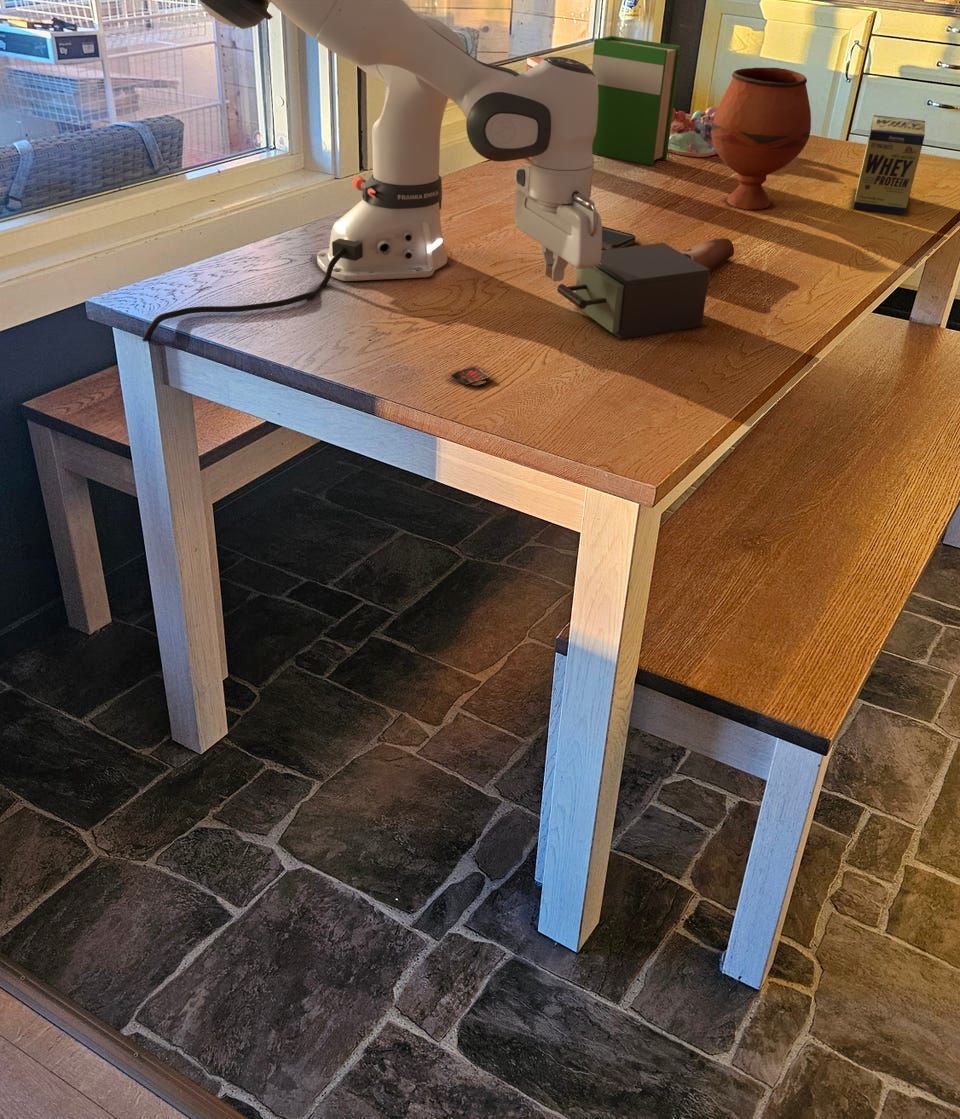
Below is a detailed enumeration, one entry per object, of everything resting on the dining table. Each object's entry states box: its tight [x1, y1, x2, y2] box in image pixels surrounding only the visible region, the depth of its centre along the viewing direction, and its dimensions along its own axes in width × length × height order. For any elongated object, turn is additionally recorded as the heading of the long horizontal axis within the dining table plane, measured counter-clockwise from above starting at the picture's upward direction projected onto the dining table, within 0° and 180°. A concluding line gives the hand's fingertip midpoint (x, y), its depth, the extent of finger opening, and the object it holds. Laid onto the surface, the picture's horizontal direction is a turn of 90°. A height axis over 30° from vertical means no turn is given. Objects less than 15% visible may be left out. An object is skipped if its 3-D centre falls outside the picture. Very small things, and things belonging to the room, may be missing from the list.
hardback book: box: [591, 35, 682, 166], centre depth 246 cm, size 18×7×24 cm, turn 54°
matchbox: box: [450, 366, 491, 387], centre depth 150 cm, size 5×5×1 cm
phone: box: [602, 225, 636, 250], centre depth 202 cm, size 8×1×15 cm
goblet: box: [711, 67, 812, 211], centre depth 217 cm, size 19×19×25 cm
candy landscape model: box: [667, 106, 718, 158], centre depth 260 cm, size 25×24×9 cm
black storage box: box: [597, 242, 711, 340], centre depth 168 cm, size 15×13×9 cm
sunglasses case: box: [679, 237, 735, 273], centre depth 189 cm, size 18×7×7 cm
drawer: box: [556, 266, 624, 334], centre depth 167 cm, size 18×12×7 cm, turn 114°
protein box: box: [852, 114, 926, 216], centre depth 224 cm, size 10×16×16 cm
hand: (553, 277), depth 161 cm, fingers closed
